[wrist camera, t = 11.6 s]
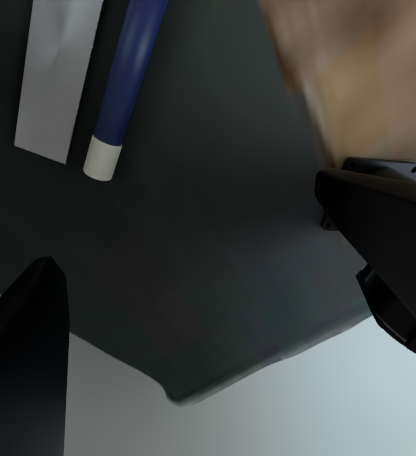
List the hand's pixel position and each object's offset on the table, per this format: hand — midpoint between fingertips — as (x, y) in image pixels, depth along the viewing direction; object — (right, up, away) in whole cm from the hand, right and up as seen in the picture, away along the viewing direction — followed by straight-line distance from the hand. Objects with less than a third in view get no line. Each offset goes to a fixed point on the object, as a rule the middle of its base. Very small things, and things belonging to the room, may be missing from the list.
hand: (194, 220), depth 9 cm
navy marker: (-5, +9, +8) cm, 13 cm away
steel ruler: (-8, +10, +7) cm, 15 cm away
